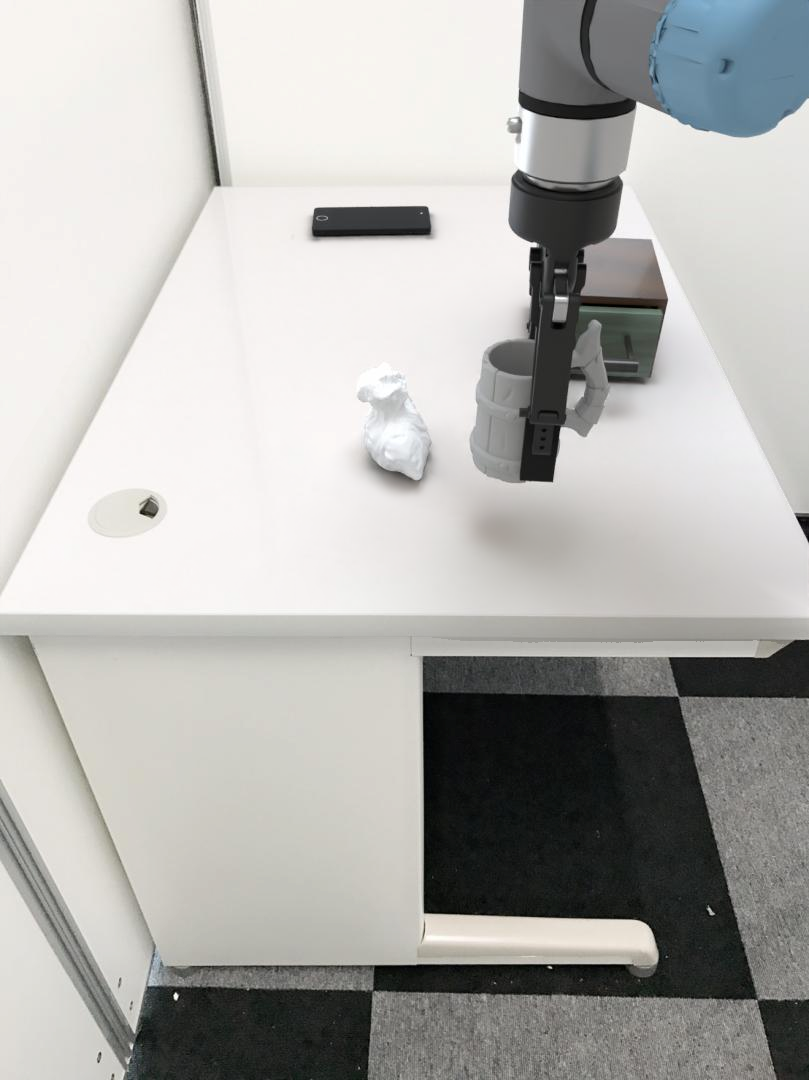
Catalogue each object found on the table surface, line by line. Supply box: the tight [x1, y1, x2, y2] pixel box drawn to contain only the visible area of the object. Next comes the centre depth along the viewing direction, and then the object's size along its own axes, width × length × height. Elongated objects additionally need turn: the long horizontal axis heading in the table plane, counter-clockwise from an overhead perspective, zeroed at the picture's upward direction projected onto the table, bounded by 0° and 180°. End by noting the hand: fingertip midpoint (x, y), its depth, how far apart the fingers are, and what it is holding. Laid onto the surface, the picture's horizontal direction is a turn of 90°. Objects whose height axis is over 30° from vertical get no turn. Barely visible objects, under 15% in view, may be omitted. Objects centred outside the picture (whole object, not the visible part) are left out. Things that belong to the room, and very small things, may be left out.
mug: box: [468, 320, 611, 484], centre depth 70 cm, size 8×12×12 cm, turn 106°
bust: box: [355, 362, 433, 481], centre depth 84 cm, size 12×8×11 cm
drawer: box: [570, 303, 663, 378], centre depth 97 cm, size 21×13×8 cm, turn 174°
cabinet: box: [581, 237, 669, 378], centre depth 102 cm, size 16×14×10 cm
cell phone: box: [311, 205, 432, 236], centre depth 131 cm, size 9×18×1 cm, turn 92°
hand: (535, 448), depth 72 cm, fingers closed on mug, 8 cm apart
